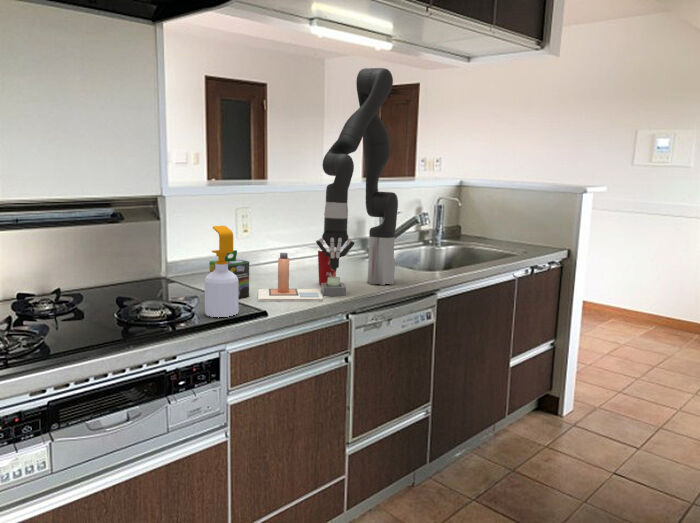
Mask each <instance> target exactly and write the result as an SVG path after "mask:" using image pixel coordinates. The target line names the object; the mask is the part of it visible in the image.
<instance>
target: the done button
mask: <svg viewBox="0 0 700 523" xmlns="http://www.w3.org/2000/svg"><path fill="white" fill-rule="evenodd" d="M340 283H341V278H340V276H339V277H338V276H336V277H328V287H340Z"/></svg>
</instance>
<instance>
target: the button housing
mask: <svg viewBox="0 0 700 523" xmlns="http://www.w3.org/2000/svg"><path fill="white" fill-rule="evenodd" d="M320 293H321V295H322V294H323V295H322V297H323V296H346V297H347V287H346V284H345V283H344V282H340V287H328V283H321V286H320Z"/></svg>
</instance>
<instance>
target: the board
mask: <svg viewBox="0 0 700 523" xmlns="http://www.w3.org/2000/svg"><path fill="white" fill-rule="evenodd" d="M257 298H258V299H257V300H258V302H323V301H324V298H323V295H322V292H321V290H320V289H319V288H289V292H288V293H279V292H278V288H259V289H258V294H257Z"/></svg>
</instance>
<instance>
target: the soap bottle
mask: <svg viewBox="0 0 700 523" xmlns="http://www.w3.org/2000/svg"><path fill="white" fill-rule="evenodd" d="M212 229H213V230H214V231H216V232H217V234H218V239H219V240H218V241H219V242H218V249H215V250H211V253H213V254H216V257H218V259H217V260H218V261H216V262H215V270H214V271H213V272H211V273H210V272H209V273H208V274H207V275H206V276H205V279H204V314H205V316H207V317H209V316H210V317H209V318H213V317H218V318H217V319H220V318H219V317H228V318H230V317H229V316H233V315H235V316H237V315H238V314H239V298H238V278H237V276H236V275H235V274H234V273H232V272H231V271H229V270H228V261H225V256H227V253H232V252H233V250H234V232H233V231H232V230H231V229H230V228H229V227H228V226H227V225H213V226H212ZM236 314H237V315H236ZM233 317H234V316H233Z"/></svg>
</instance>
